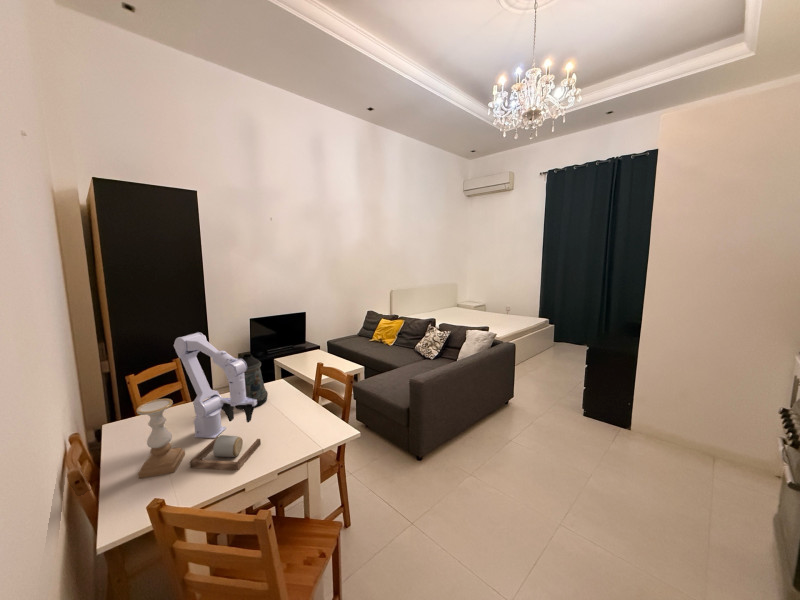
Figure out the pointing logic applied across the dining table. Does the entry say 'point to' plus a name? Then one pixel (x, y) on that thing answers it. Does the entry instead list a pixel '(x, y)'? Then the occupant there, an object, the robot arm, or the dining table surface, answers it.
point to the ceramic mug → (227, 446)
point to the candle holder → (159, 441)
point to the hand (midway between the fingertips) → (240, 420)
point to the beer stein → (253, 382)
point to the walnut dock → (222, 465)
